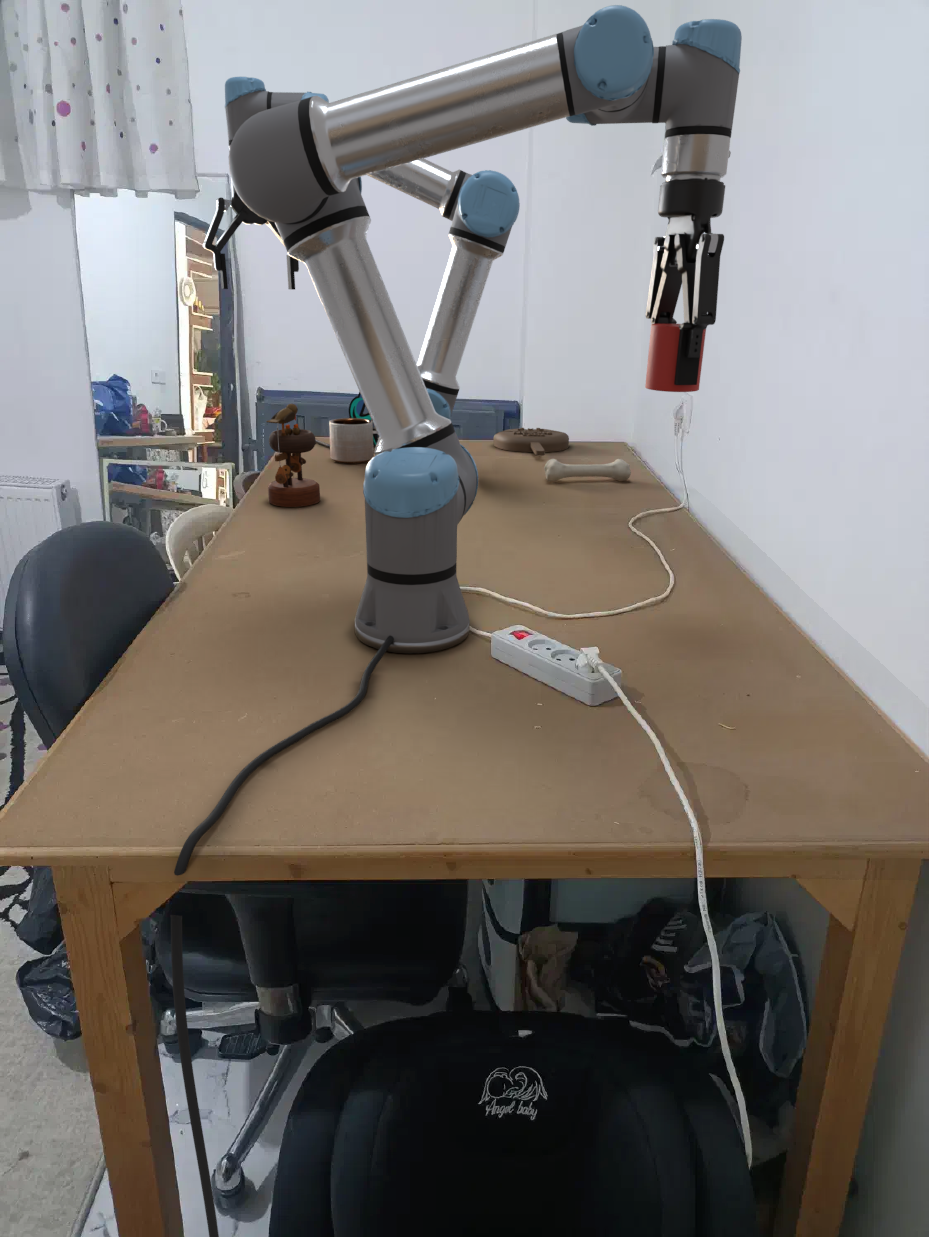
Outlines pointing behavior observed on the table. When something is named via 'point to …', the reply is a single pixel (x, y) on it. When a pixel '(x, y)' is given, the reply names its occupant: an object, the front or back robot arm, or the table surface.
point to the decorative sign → (361, 413)
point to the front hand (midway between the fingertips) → (671, 380)
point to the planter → (351, 440)
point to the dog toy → (587, 470)
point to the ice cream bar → (531, 440)
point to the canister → (667, 359)
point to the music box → (291, 462)
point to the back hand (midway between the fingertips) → (258, 289)
